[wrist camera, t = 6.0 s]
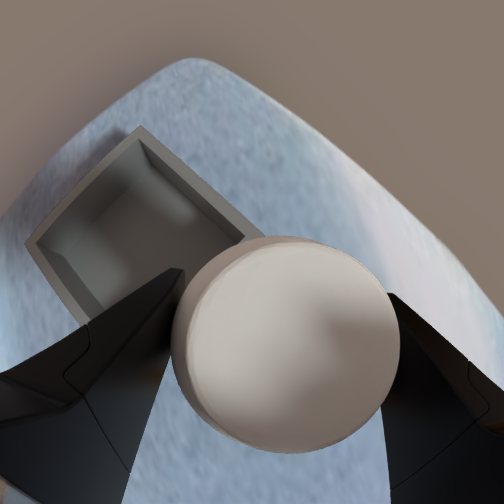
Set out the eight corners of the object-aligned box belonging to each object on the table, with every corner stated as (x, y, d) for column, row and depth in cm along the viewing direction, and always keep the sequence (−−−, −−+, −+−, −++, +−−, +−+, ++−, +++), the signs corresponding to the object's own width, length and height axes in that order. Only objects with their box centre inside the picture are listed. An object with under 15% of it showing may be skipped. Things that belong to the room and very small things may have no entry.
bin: (147, 370, 21) (125, 379, 16) (55, 257, 23) (24, 243, 18) (261, 253, 23) (265, 235, 19) (155, 155, 25) (140, 124, 20)
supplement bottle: (327, 383, 15) (442, 450, 5) (214, 399, 14) (165, 502, 5) (312, 273, 16) (407, 187, 6) (200, 287, 16) (129, 215, 6)
